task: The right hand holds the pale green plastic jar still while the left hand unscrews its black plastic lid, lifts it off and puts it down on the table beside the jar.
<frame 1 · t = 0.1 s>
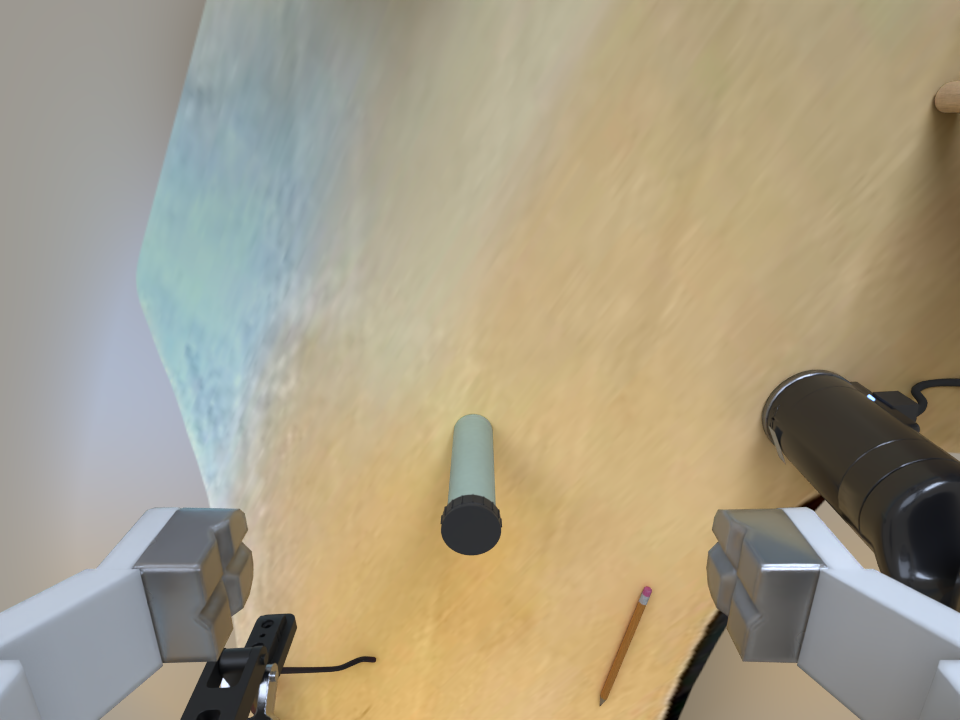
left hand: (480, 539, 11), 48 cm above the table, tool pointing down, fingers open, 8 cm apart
jar: (473, 431, 64), on the table
pencil: (621, 645, 74), on the table
lid: (471, 528, 49), point 16 cm above the table, screwed on, not yet turned
eyeglasses: (320, 694, 77), on the table
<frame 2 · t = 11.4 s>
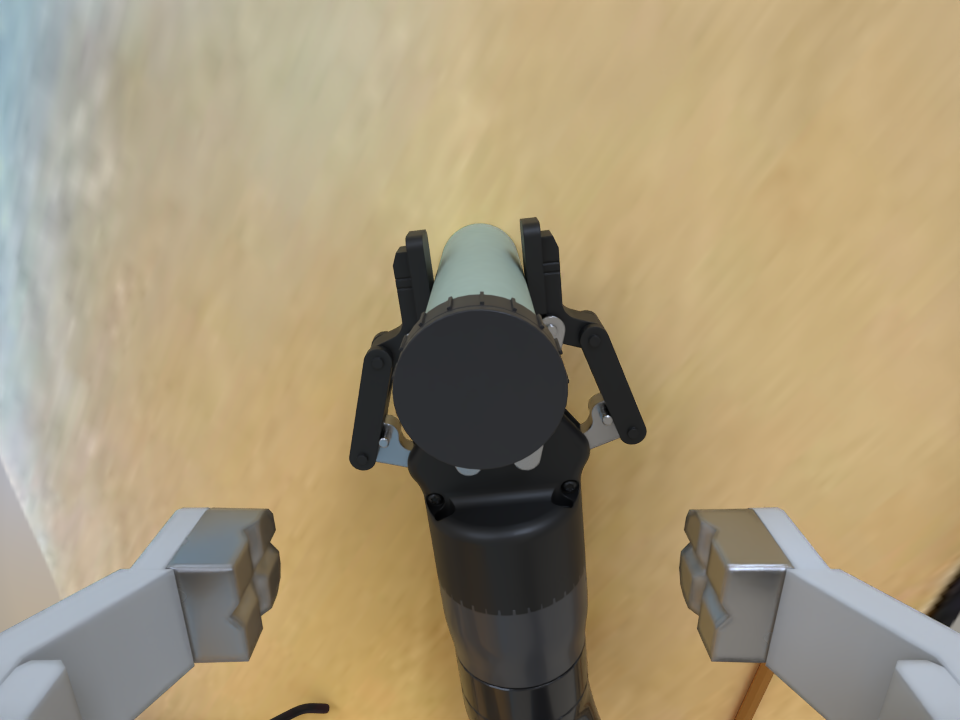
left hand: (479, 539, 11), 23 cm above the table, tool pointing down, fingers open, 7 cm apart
right hand: (471, 229, 25), fingers closed on jar, 4 cm apart
jar: (480, 262, 32), on the table, touching right hand
pencil: (758, 670, 42), on the table
lid: (480, 388, 17), point 16 cm above the table, screwed on, not yet turned
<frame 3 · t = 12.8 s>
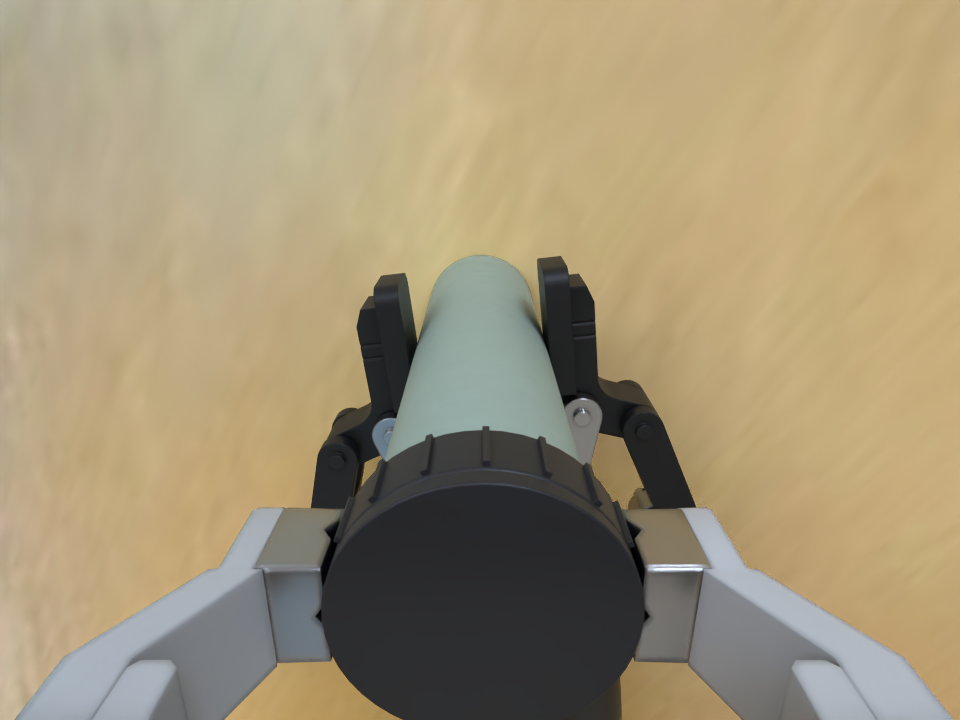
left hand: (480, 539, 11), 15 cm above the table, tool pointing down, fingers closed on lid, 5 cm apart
jar: (481, 304, 24), on the table, touching right hand
lid: (482, 604, 9), point 16 cm above the table, screwed on, not yet turned, touching left hand
when the left hand's fingers open (15 cm above the table, at t = 14.2 s): lid stays where it is, point 17 cm above the table.
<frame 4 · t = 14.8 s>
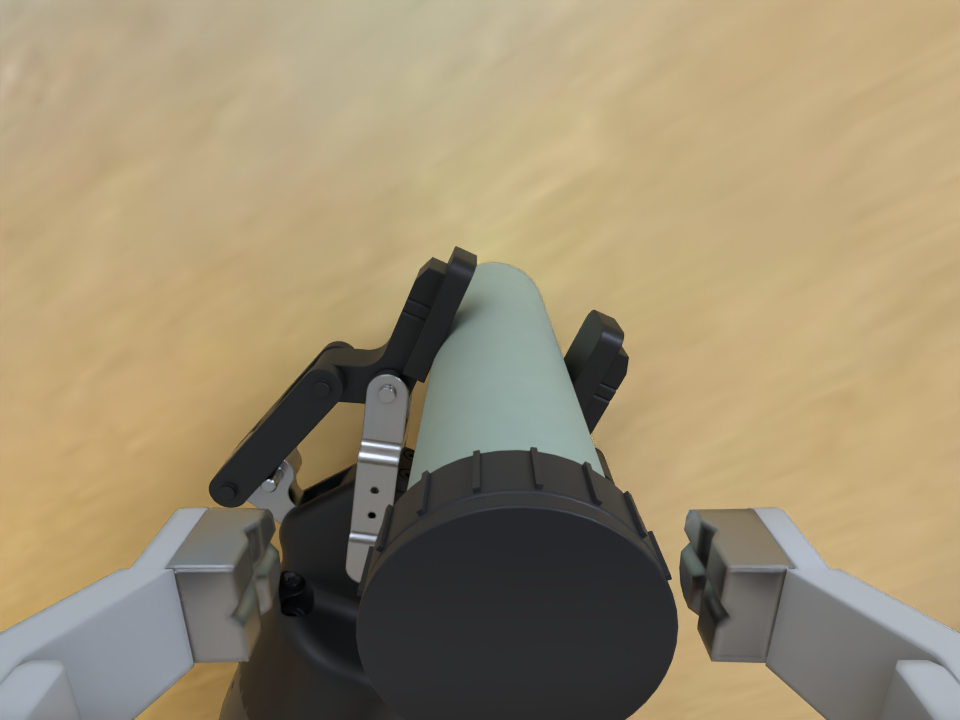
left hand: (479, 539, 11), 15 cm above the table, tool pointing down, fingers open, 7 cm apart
jar: (493, 311, 25), on the table, touching right hand
lid: (515, 624, 9), point 17 cm above the table, turned 68° so far, risen 0.2 cm, still on its thread
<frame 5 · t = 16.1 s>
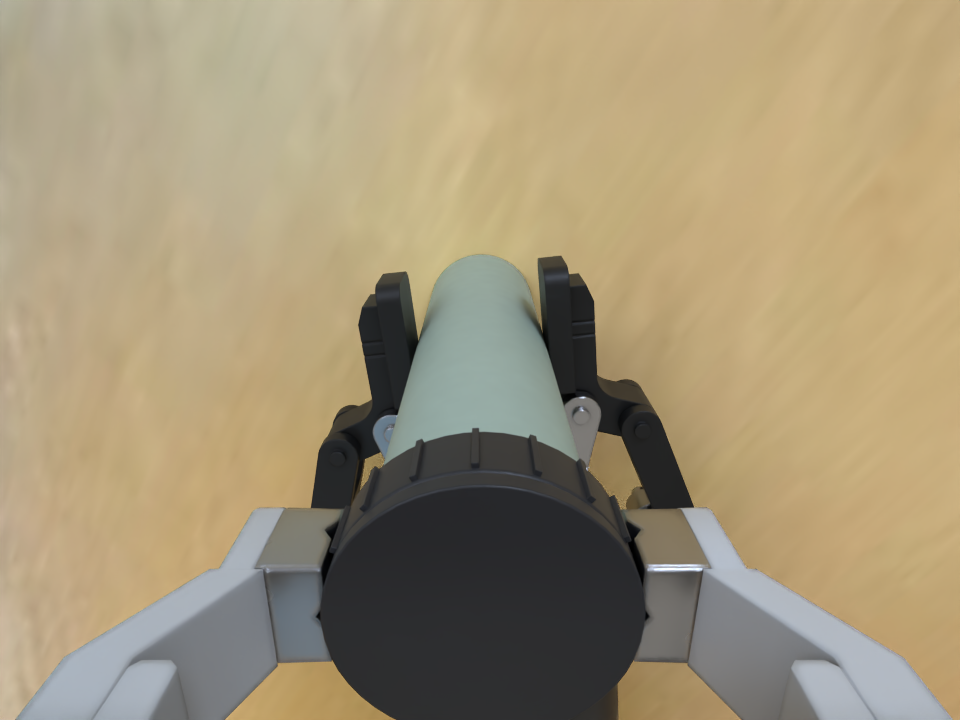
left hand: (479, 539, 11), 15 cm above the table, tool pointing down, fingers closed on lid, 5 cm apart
jar: (481, 303, 25), on the table, touching right hand
lid: (482, 607, 9), point 17 cm above the table, turned 68° so far, risen 0.2 cm, still on its thread, touching left hand
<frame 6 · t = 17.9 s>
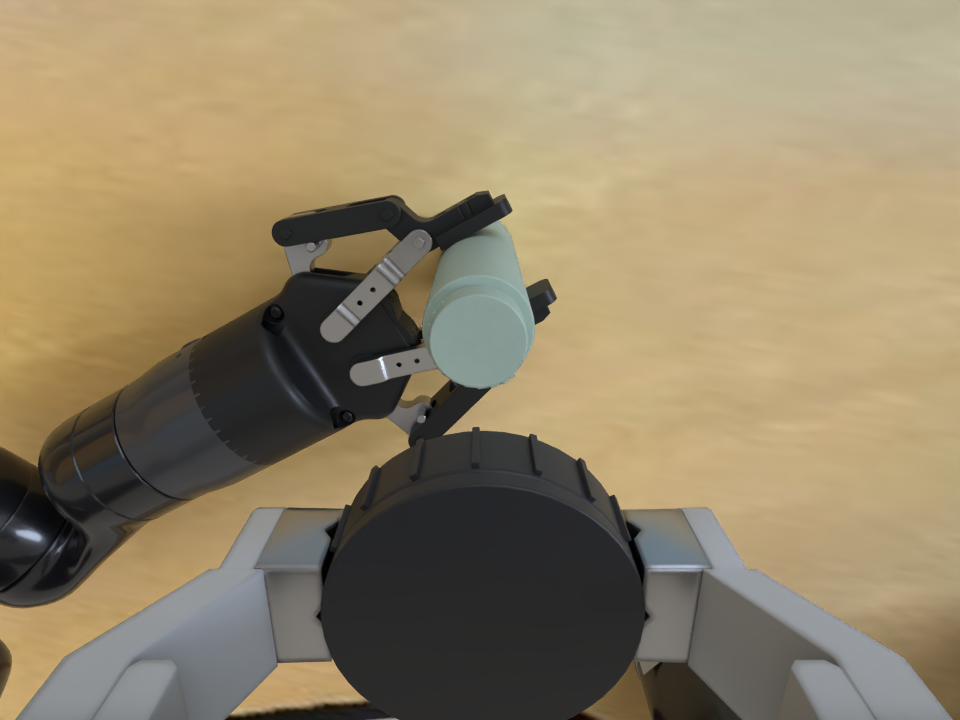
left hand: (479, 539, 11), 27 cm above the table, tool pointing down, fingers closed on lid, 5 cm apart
right hand: (528, 246, 29), fingers closed on jar, 4 cm apart
jar: (478, 249, 36), on the table, touching right hand
lid: (482, 606, 9), point 28 cm above the table, off its thread, touching left hand
when the left hand's fingers open (2 cm above the table, at t = 23.4 s): lid drops 2 cm, point 1 cm above the table.
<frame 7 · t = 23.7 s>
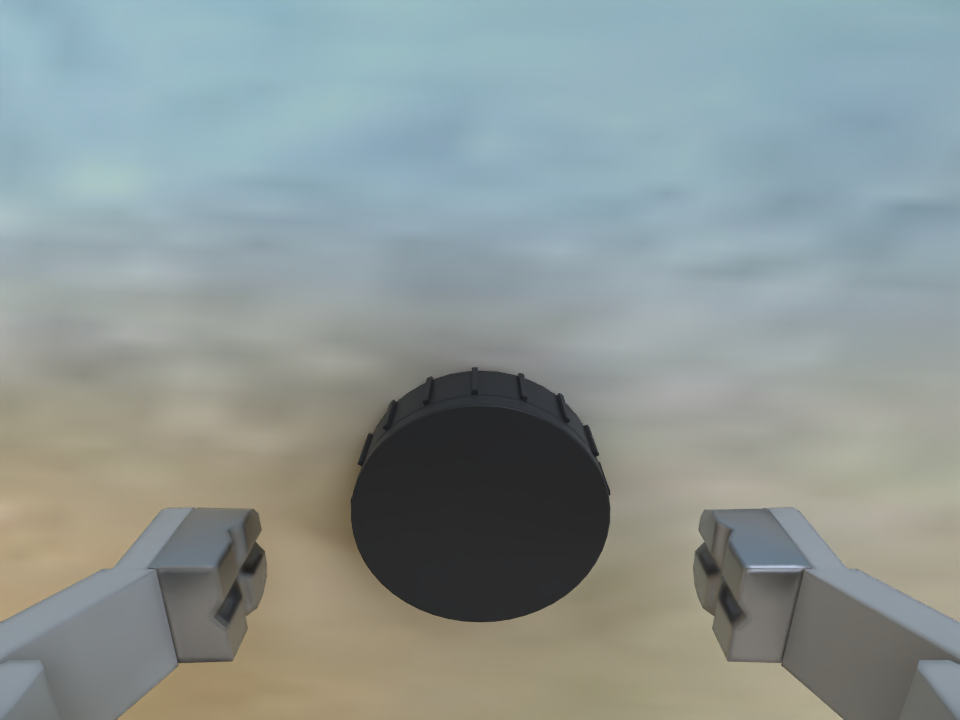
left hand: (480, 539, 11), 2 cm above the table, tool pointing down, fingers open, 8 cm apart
lid: (480, 510, 11), point 1 cm above the table, off its thread
when the right hand's fingers open (6 cm above the table, at t = 24.4 s): jar stays where it is, on the table.
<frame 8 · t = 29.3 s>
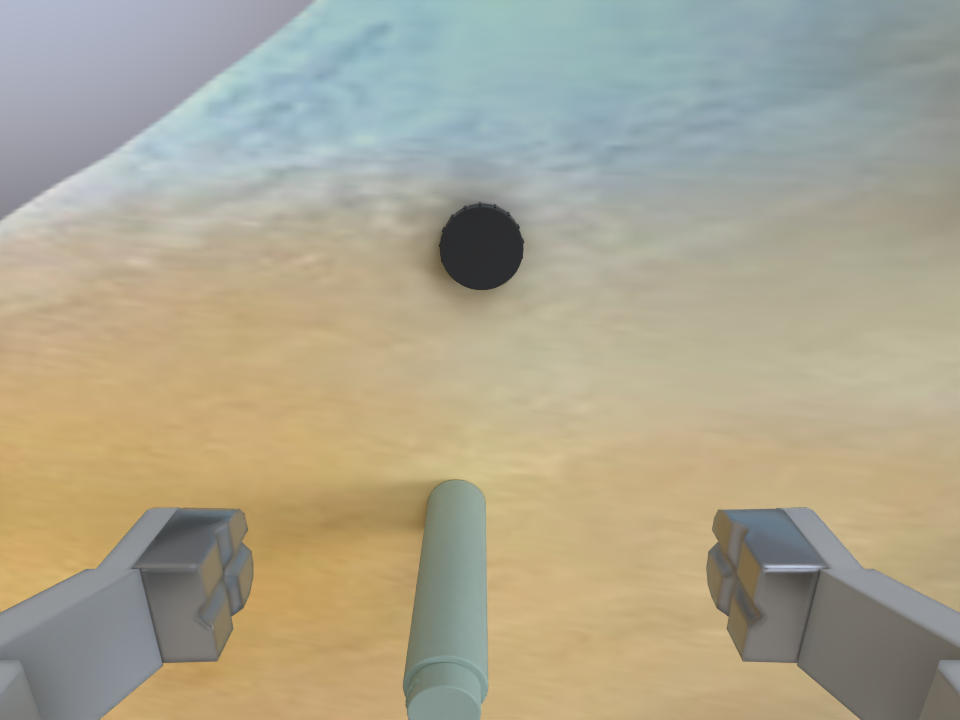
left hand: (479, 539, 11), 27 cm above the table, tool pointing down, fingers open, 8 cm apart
jar: (456, 504, 43), on the table
lid: (481, 248, 35), point 1 cm above the table, off its thread
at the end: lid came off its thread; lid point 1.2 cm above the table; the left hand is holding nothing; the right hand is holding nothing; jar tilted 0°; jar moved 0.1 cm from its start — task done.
